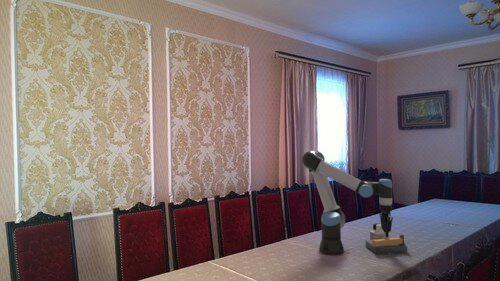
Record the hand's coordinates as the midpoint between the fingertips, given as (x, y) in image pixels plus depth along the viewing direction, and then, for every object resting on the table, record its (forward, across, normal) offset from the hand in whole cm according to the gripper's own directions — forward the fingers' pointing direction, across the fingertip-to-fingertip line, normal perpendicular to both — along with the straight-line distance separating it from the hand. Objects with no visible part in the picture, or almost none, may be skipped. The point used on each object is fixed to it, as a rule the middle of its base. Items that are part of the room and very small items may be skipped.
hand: (386, 241), depth 214 cm
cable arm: (+1, -2, -1) cm, 2 cm away
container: (+6, +16, -3) cm, 17 cm away
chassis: (+6, +3, -1) cm, 6 cm away
